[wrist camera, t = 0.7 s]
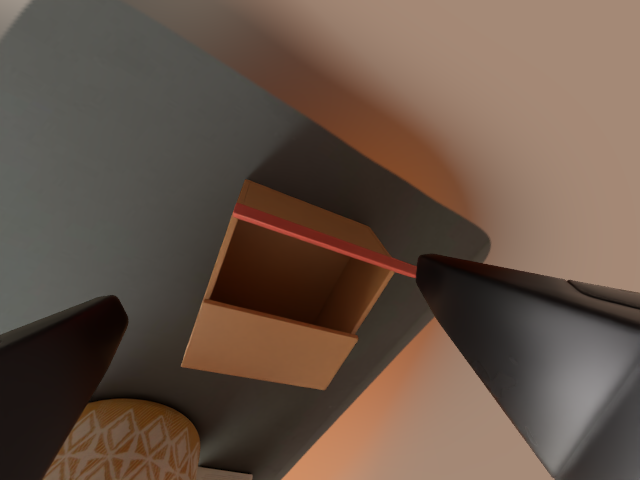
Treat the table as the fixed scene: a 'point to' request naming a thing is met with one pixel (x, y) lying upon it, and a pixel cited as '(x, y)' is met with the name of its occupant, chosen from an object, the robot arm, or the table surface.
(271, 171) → the table surface
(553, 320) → the robot arm
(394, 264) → the flap
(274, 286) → the carton
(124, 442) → the planter
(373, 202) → the table surface
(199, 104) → the table surface
